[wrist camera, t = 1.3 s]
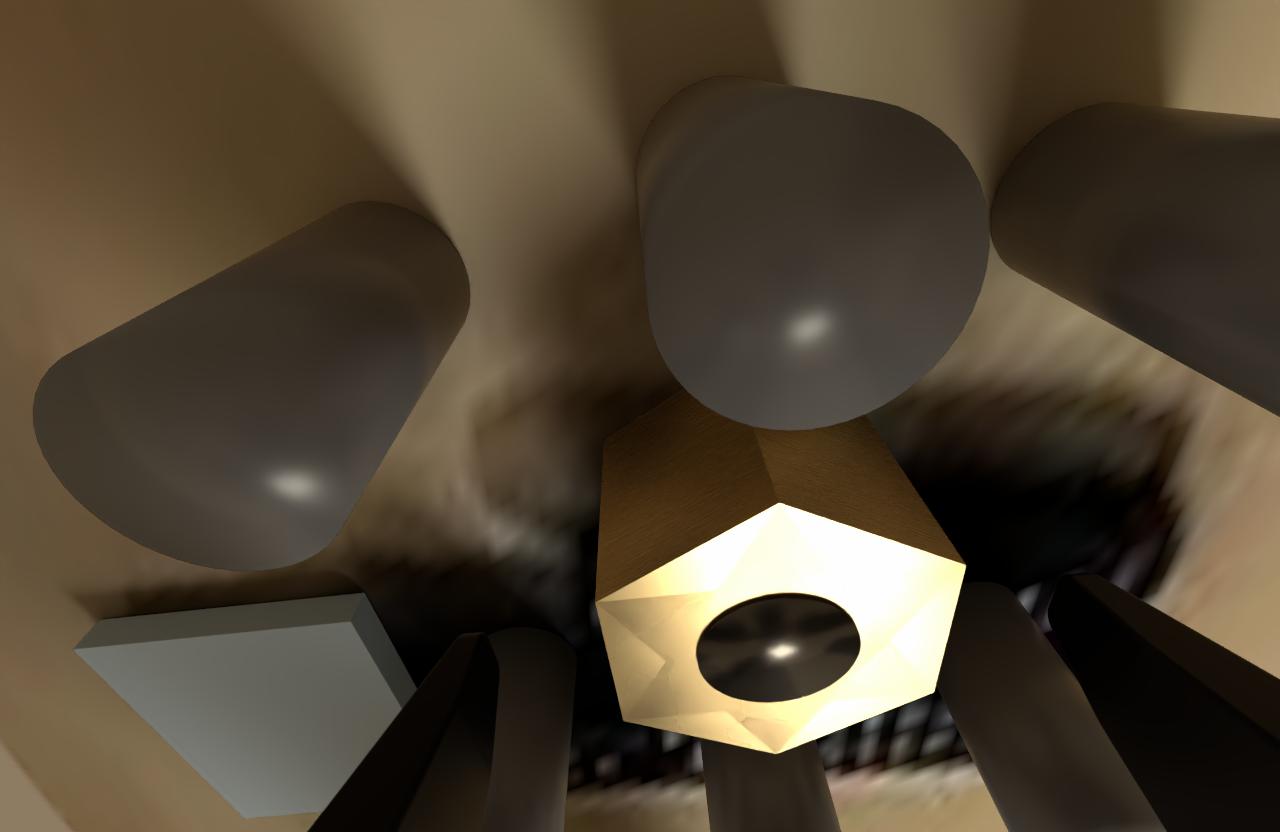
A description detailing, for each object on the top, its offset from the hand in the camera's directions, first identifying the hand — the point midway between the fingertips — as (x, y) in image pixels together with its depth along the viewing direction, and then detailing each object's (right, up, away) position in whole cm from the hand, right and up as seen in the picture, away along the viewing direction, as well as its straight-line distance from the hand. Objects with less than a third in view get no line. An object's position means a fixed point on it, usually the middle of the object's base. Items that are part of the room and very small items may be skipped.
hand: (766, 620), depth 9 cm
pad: (-11, -5, +6) cm, 14 cm away
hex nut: (0, +2, +3) cm, 3 cm away
